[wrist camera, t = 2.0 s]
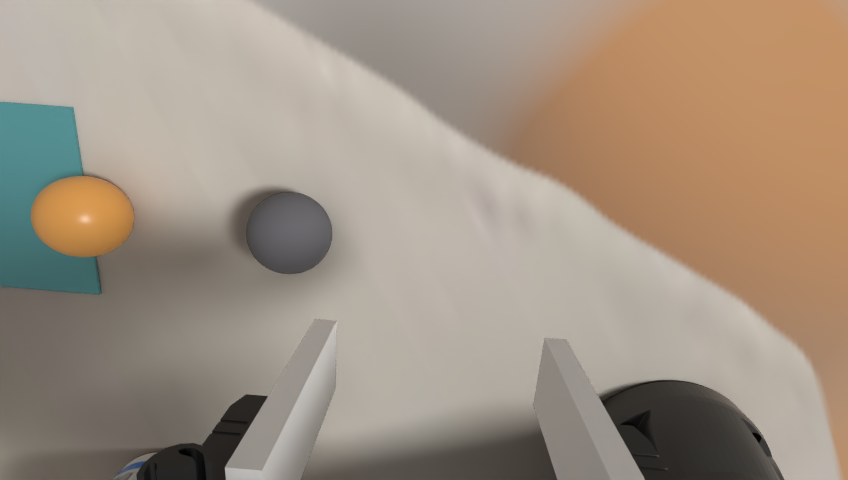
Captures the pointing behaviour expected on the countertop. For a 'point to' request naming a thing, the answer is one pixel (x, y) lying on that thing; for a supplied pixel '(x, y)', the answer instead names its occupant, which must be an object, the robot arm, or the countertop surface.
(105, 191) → the object ball
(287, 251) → the gray ball
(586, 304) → the countertop surface
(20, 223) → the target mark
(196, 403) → the countertop surface
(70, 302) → the countertop surface
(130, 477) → the supplement tub
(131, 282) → the countertop surface
